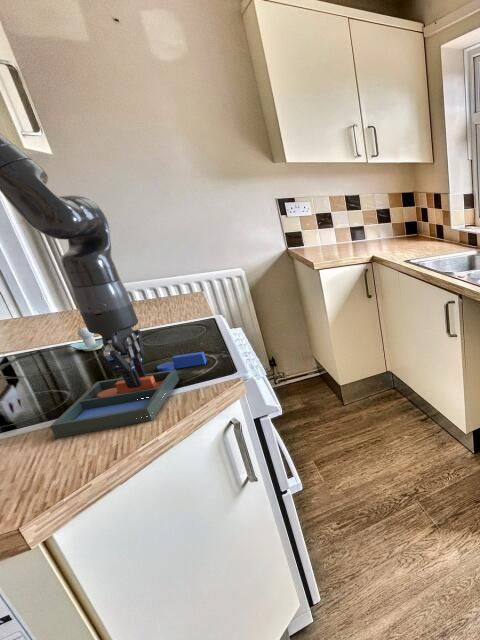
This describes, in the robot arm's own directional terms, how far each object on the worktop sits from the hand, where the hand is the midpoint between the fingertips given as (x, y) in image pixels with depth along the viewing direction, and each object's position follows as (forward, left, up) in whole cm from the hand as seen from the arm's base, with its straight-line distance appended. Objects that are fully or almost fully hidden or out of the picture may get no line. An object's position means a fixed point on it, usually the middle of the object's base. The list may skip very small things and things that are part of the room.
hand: (137, 383), depth 88 cm
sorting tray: (-2, -4, -3) cm, 5 cm away
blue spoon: (+4, +13, -3) cm, 14 cm away
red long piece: (-2, 0, -2) cm, 3 cm away
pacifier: (-22, +37, -3) cm, 43 cm away
